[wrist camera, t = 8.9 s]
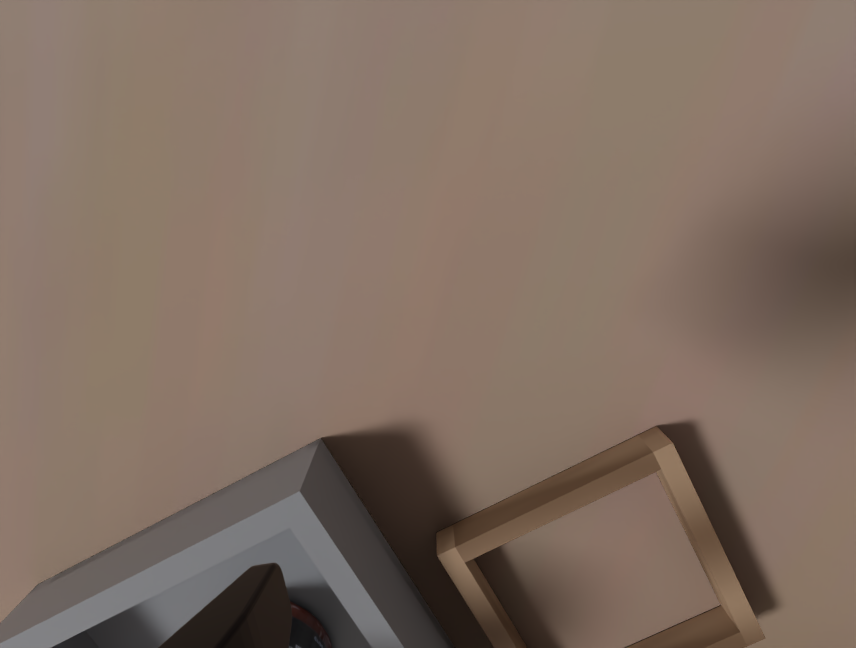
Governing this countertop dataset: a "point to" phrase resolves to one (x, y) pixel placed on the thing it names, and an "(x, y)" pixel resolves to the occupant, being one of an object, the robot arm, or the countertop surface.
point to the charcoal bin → (238, 568)
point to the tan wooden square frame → (576, 487)
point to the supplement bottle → (307, 630)
